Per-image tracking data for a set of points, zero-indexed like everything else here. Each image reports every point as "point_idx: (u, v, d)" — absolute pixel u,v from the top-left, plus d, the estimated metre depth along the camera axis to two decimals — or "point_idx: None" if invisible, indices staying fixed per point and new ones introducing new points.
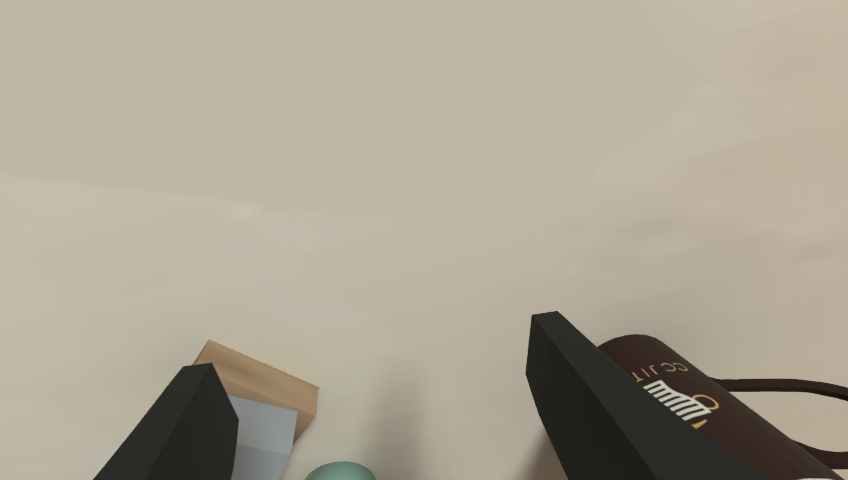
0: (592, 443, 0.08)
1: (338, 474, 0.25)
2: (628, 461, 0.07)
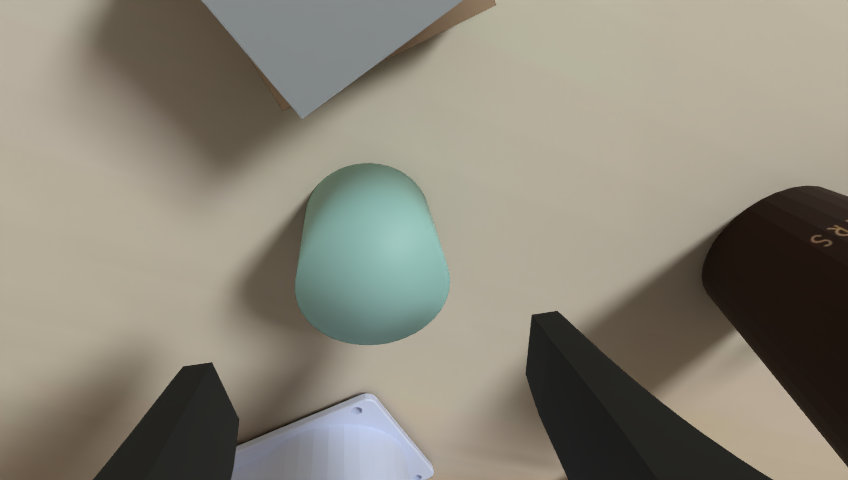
0: (592, 443, 0.08)
1: (403, 182, 0.15)
2: (628, 461, 0.07)
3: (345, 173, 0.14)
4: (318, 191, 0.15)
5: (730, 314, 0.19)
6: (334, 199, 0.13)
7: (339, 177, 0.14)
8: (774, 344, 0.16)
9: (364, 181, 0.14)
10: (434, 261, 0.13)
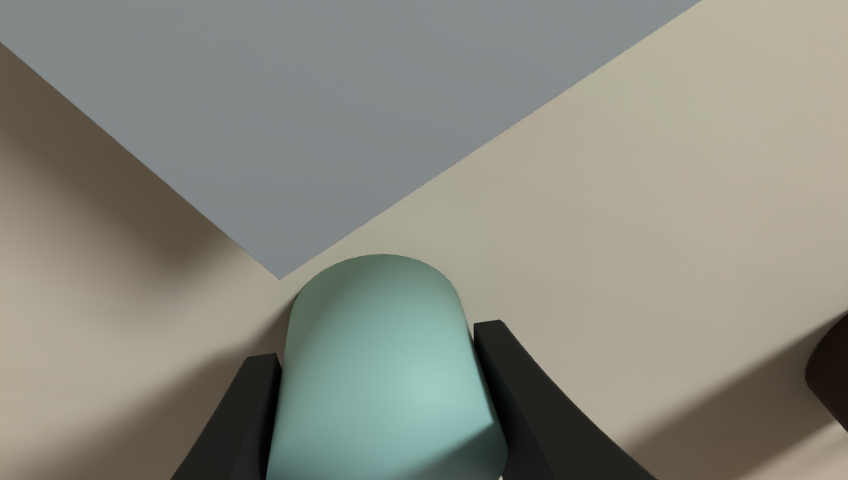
0: (520, 456, 0.08)
1: (431, 285, 0.10)
2: (544, 476, 0.07)
3: (346, 274, 0.10)
4: (306, 299, 0.10)
5: None
6: (328, 330, 0.09)
7: (338, 282, 0.10)
8: None
9: (374, 295, 0.09)
10: (486, 437, 0.08)
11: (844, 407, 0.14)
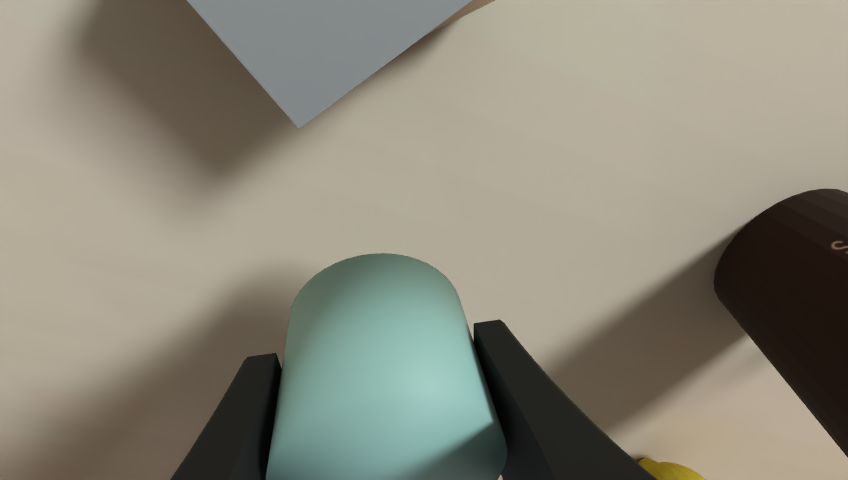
0: (520, 455, 0.08)
1: (430, 285, 0.10)
2: (544, 476, 0.07)
3: (346, 273, 0.10)
4: (306, 298, 0.10)
5: (744, 321, 0.18)
6: (328, 328, 0.09)
7: (337, 281, 0.10)
8: (791, 354, 0.15)
9: (373, 294, 0.09)
10: (486, 436, 0.08)
11: (736, 304, 0.18)
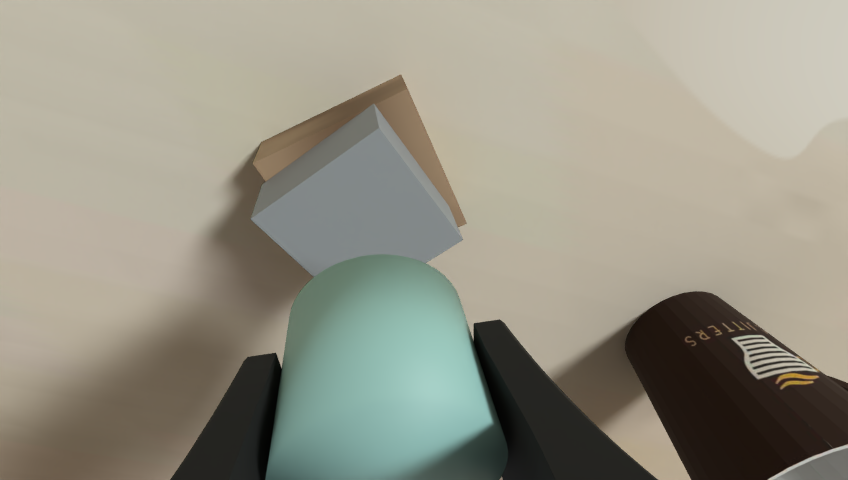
0: (520, 456, 0.08)
1: (431, 286, 0.10)
2: (544, 476, 0.07)
3: (346, 274, 0.10)
4: (306, 300, 0.10)
5: (641, 381, 0.26)
6: (328, 330, 0.09)
7: (338, 282, 0.10)
8: (661, 409, 0.24)
9: (373, 296, 0.09)
10: (486, 438, 0.08)
11: (636, 369, 0.26)
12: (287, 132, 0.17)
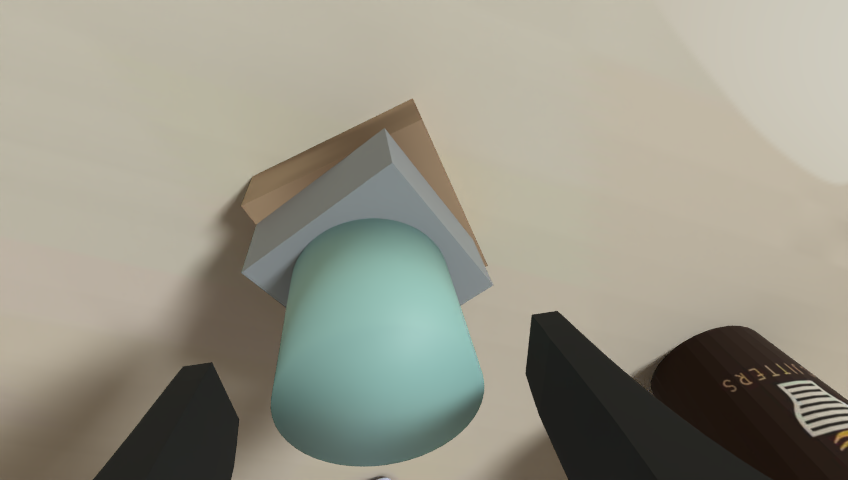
0: (592, 442, 0.08)
1: (419, 245, 0.11)
2: (628, 461, 0.07)
3: (344, 233, 0.11)
4: (307, 256, 0.11)
5: None
6: (327, 276, 0.10)
7: (336, 240, 0.11)
8: None
9: (368, 249, 0.10)
10: (465, 369, 0.09)
11: None
12: (282, 166, 0.15)
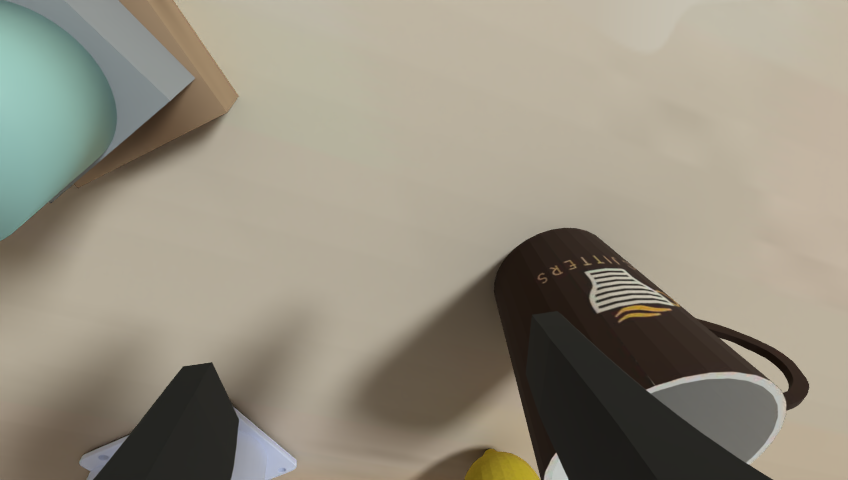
0: (592, 442, 0.08)
1: (16, 17, 0.10)
2: (628, 461, 0.07)
3: None
4: None
5: None
6: None
7: None
8: (511, 360, 0.20)
9: None
10: None
11: (501, 320, 0.23)
12: None
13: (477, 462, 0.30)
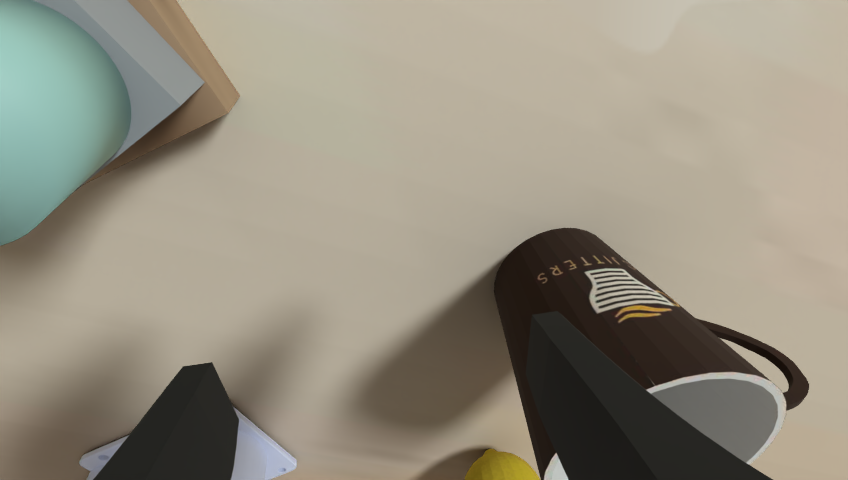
0: (592, 442, 0.08)
1: (36, 15, 0.10)
2: (628, 461, 0.07)
3: None
4: None
5: None
6: None
7: None
8: (511, 360, 0.20)
9: None
10: None
11: (501, 320, 0.23)
12: None
13: (477, 462, 0.30)
